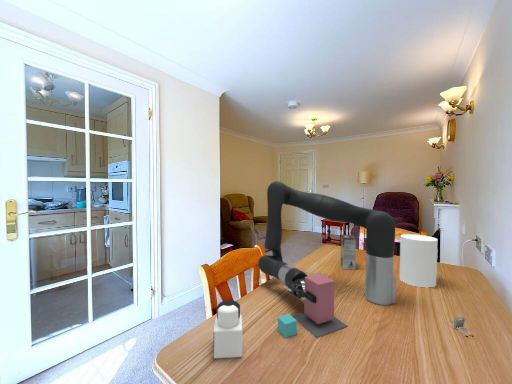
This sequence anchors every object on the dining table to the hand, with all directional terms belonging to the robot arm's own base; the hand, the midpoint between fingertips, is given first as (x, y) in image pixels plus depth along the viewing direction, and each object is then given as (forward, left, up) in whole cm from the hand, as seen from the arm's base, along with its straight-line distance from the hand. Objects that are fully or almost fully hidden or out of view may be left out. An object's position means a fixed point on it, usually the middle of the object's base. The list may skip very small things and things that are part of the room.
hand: (324, 297), depth 71 cm
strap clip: (-40, -1, -9) cm, 41 cm away
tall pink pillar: (+1, -2, -7) cm, 7 cm away
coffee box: (-24, -53, -9) cm, 59 cm away
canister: (-49, -36, -9) cm, 62 cm away
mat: (+1, -2, -9) cm, 9 cm away
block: (+12, +4, -9) cm, 15 cm away
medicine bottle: (+28, +12, -9) cm, 31 cm away
